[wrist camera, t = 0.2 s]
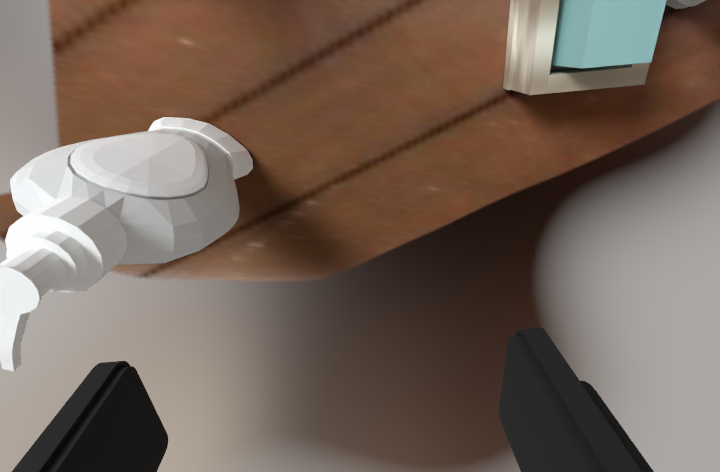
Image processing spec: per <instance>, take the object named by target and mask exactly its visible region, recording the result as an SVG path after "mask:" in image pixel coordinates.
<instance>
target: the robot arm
mask: <svg viewBox="0 0 720 472" xmlns="http://www.w3.org/2000/svg"><path fill="white" fill-rule="evenodd" d="M499 414H500V419H501V423H502V426H503V428H504V431H505V433H506V436H507V438H508V441H509V443H510V445H511V448H512V450H513V452H514V455H515V458H516V460H517V463H518V465H519V467H520V470H521V472H653V470H652V469H651V467H650V466H649V465H648V463H647V462H646V461H645V459H644V458H643V456H642V455H641V453H640V452H639V451H638V449H637V448H636V446H635V445H634V444H633V442H632V441H631V440H630V438H629V437H628V435H627V434H626V432H625V431H624V430H623V428H622V427H621V425H620V424H619V423H618V421H617V420H616V419H615V417H614V416H613V414H612V413H611V411H610V410H609V409H608V407H607V406H606V404H605V403H604V402H603V400H602V399H601V397H600V396H599V395H598V393H597V392H596V391H595V390H594V388H593V387H592V386H591V385H590V384H588V383H587V382H585V381H579V379H578V378H577V376H576V375H575V374H574V372H573V371H572V369H571V368H570V366H569V365H568V363H567V362H566V361H565V359H564V358H563V356H562V355H561V353H560V352H559V350H558V349H557V347H556V346H555V345H554V343H553V342H552V340H551V339H550V337H549V336H548V334H547V333H546V332H545V330H544V329H542V328H530V329H519V330H517V331H516V332H515V336H510V337H509V339H508V346H507V353H506V361H505V369H504V376H503V383H502V392H501V398H500V407H499ZM167 445H168V436H167V433H166V431H165V429H164V427H163V424H162V422H161V420H160V418H159V416H158V414H157V413H156V410H155V408H154V406H153V404H152V402H151V400H150V398H149V396H148V394H147V392H146V389H145V387H144V385H143V383H142V381H141V379H140V377H139V375H138V373H137V371H136V369H135V368H134V367H130V365H129V364H128V363H127V362H126V361H118V362H106V363H99V364H97V365H96V366H95V367H94V368H93V369H92V370H91V372H90V373H89V374H88V375H87V377H86V378H85V379H84V381H83V382H82V383H81V384H80V386H79V387H78V388H77V389H76V391H75V392H74V393H73V395H72V396H71V397H70V398H69V400H68V401H67V402H66V403H65V405H64V406H63V407H62V409H61V410H60V411H59V413H58V414H57V415H56V416H55V417H54V419H53V420H52V421H51V423H50V424H49V425H48V426H47V428H46V429H45V430H44V432H43V433H42V434H41V435H40V437H39V438H38V439H37V440H36V442H35V443H34V444H33V445H32V447H31V448H30V449H29V451H28V452H27V453H26V454H25V456H24V457H23V458H22V459H21V461H20V462H19V463H18V465H17V466H16V467H15V468H14V470H13V471H12V472H157V469H158V467H159V465H160V463H161V460H162V458H163V456H164V454H165V452H166V449H167Z"/></svg>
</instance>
